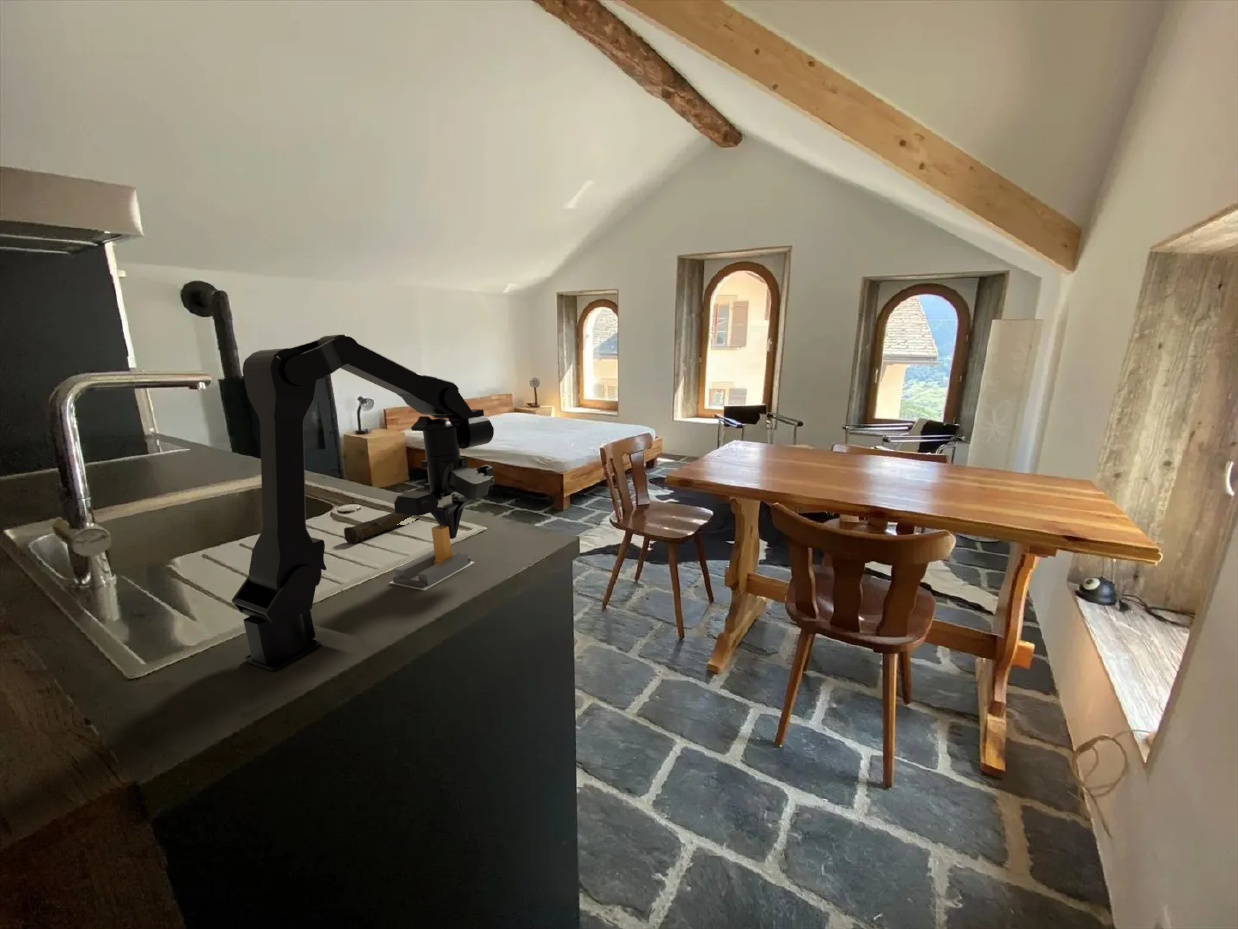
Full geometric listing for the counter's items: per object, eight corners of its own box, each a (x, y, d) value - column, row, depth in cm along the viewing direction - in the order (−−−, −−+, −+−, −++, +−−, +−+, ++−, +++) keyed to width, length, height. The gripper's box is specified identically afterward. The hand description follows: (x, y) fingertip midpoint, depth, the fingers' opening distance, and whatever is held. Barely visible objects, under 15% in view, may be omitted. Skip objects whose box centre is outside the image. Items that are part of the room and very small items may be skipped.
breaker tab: (444, 568, 90) (440, 530, 88) (434, 566, 91) (429, 528, 89) (454, 563, 92) (450, 525, 90) (444, 561, 93) (439, 524, 91)
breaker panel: (425, 598, 82) (423, 578, 82) (390, 591, 86) (387, 571, 85) (475, 569, 93) (473, 551, 92) (442, 564, 96) (440, 546, 96)
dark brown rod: (355, 546, 108) (352, 525, 107) (344, 543, 110) (341, 523, 109) (428, 520, 124) (426, 502, 123) (417, 518, 126) (414, 500, 125)
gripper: (438, 467, 78) (449, 563, 81) (512, 446, 94) (519, 527, 98) (386, 463, 83) (398, 554, 86) (465, 444, 99) (473, 521, 102)
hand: (452, 538), depth 93 cm, fingers closed
